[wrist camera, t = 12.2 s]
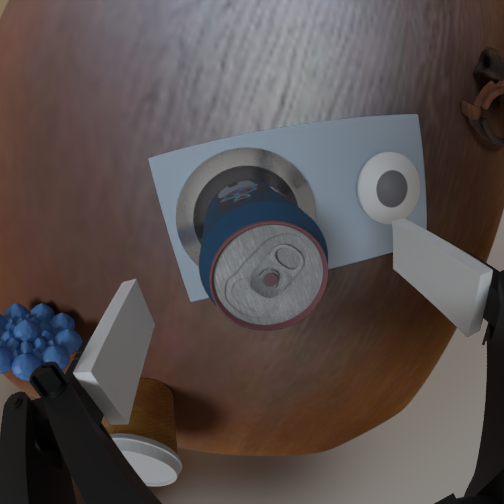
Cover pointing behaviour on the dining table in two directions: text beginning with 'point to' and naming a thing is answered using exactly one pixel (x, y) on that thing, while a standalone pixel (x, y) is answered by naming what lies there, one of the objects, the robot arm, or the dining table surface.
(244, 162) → the wide flange
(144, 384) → the disposable coffee cup
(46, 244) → the dining table surface
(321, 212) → the flange board
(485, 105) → the pottery mug
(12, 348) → the grapes
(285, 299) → the soda can
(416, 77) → the dining table surface
